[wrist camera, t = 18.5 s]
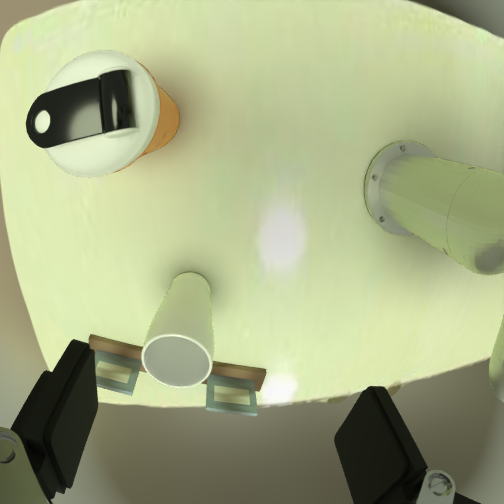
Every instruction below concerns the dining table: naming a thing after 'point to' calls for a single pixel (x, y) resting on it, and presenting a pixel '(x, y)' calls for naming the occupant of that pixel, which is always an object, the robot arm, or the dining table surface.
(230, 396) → the stand
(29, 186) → the dining table surface
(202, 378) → the drinking glass
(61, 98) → the shaker bottle
